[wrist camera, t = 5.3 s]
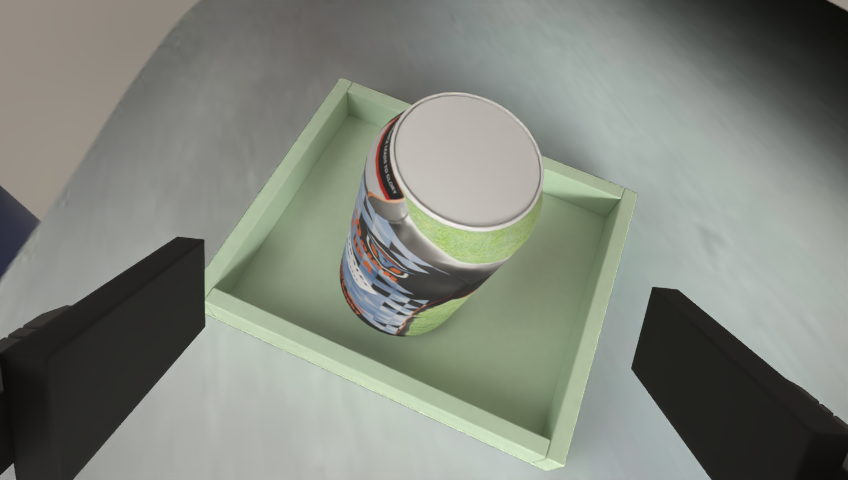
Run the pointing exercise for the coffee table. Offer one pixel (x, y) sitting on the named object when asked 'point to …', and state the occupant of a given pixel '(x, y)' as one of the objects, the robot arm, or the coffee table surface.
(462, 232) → the beverage can
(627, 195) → the tray
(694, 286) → the coffee table surface
